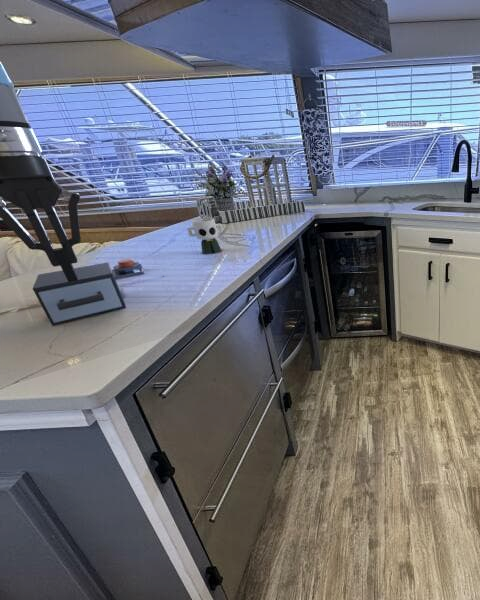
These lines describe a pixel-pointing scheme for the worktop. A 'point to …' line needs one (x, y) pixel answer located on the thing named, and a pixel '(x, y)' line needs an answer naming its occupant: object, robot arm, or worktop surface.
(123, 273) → the panel
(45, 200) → the robot arm
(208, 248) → the character mug
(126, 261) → the button
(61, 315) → the drawer
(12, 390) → the worktop surface
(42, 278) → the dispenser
